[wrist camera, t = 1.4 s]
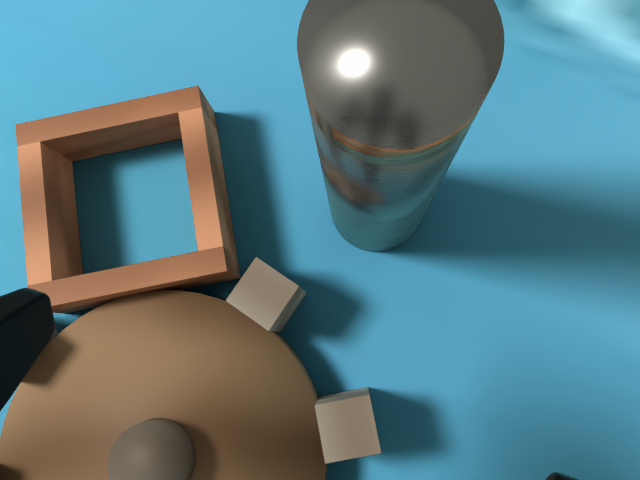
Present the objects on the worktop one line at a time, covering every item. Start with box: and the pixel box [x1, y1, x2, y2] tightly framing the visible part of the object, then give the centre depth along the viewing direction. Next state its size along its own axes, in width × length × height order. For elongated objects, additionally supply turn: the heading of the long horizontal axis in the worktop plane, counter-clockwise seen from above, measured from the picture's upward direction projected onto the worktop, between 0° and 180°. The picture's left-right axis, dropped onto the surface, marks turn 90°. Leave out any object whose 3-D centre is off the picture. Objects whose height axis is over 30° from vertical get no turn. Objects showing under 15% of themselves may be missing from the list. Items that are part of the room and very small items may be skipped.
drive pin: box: [297, 0, 504, 252], centre depth 16 cm, size 4×4×13 cm
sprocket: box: [0, 86, 381, 480], centre depth 21 cm, size 23×17×3 cm
